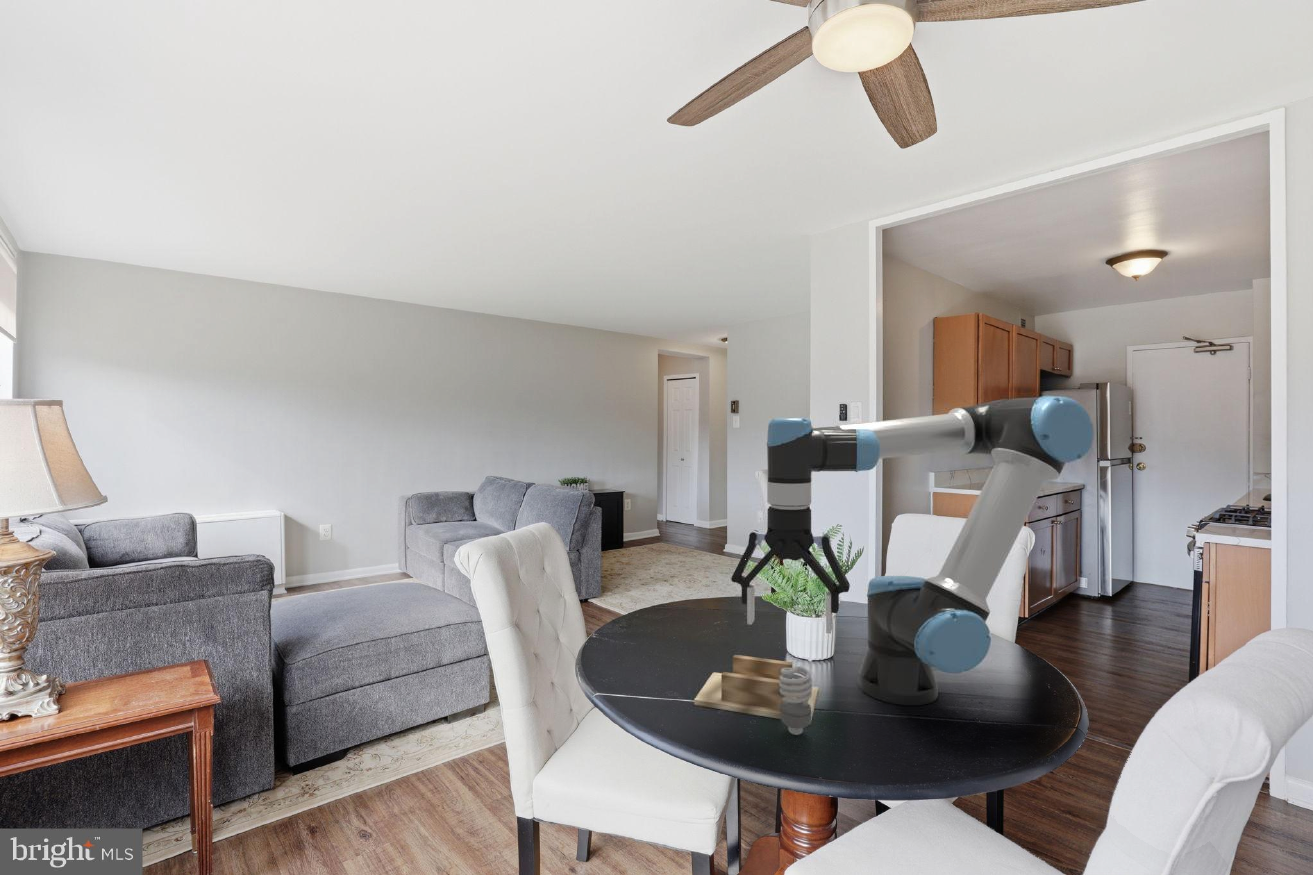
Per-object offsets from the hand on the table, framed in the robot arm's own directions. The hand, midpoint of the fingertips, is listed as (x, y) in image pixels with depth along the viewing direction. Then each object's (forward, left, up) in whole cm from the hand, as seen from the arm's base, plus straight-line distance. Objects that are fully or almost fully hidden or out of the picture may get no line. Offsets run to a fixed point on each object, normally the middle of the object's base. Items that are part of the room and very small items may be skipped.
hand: (789, 626), depth 108 cm
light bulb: (-1, +1, -19) cm, 19 cm away
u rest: (+8, -11, -19) cm, 23 cm away
